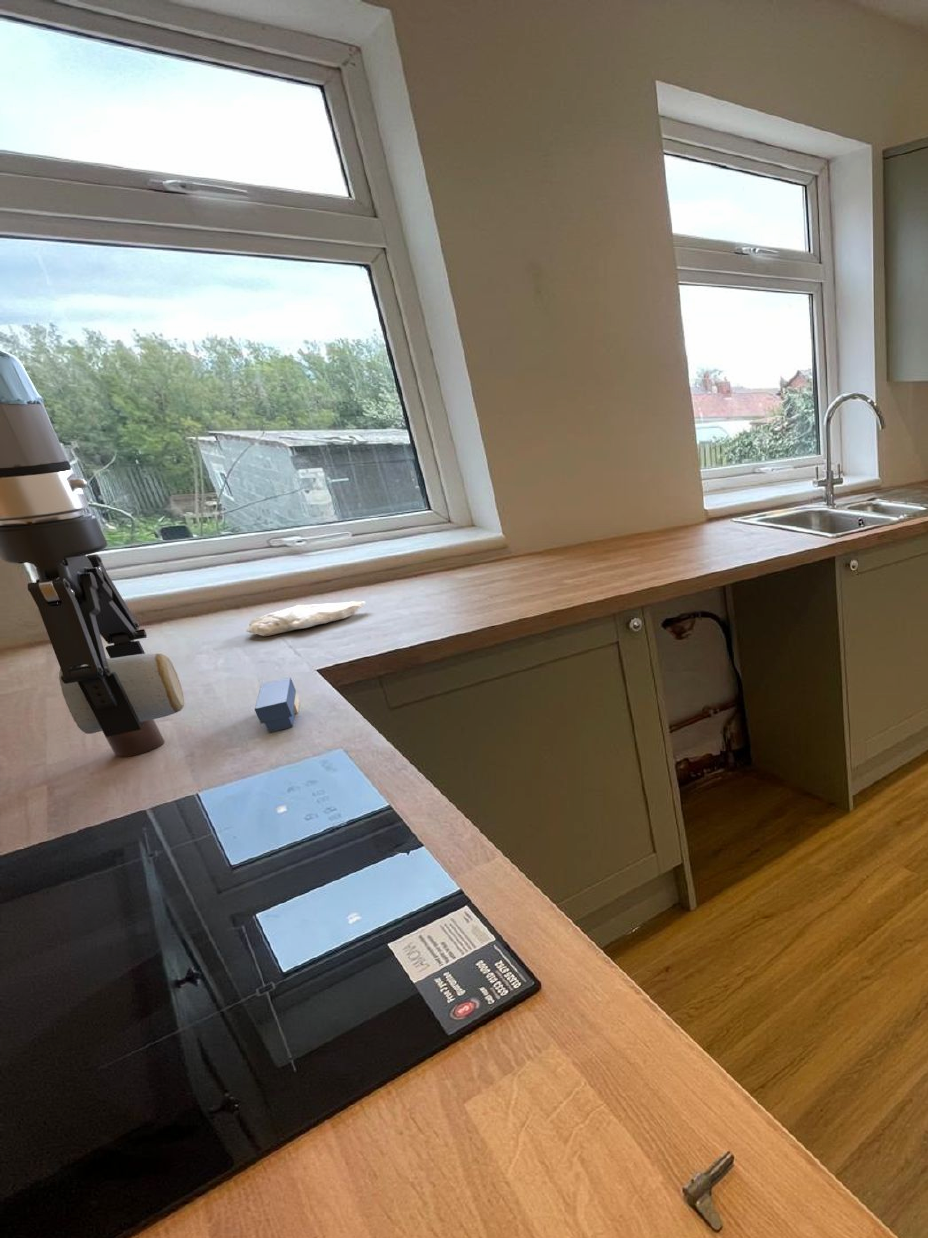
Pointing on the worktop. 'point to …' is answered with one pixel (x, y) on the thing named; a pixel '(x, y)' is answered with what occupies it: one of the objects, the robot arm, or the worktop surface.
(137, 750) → the pepper mill
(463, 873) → the worktop surface
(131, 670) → the white canister
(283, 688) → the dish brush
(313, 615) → the rock
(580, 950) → the worktop surface
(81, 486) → the robot arm
